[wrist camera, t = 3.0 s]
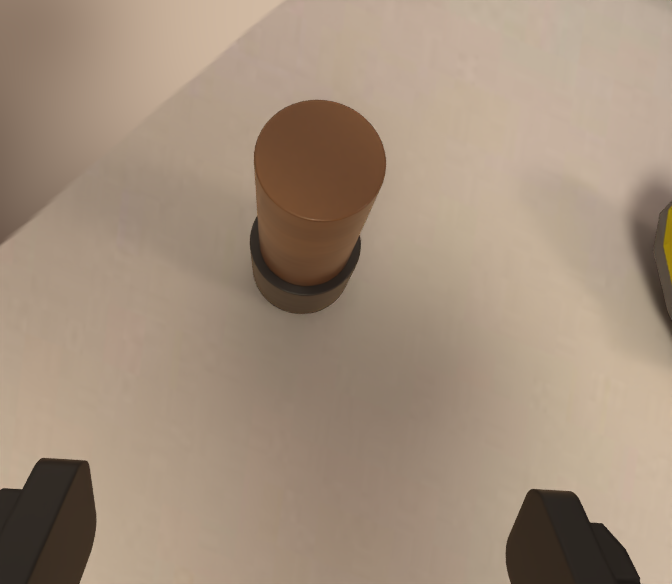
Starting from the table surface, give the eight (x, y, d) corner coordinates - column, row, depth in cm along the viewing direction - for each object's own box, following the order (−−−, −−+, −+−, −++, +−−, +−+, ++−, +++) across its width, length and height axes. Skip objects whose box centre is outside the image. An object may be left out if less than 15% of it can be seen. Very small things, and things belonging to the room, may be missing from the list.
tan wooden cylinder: (296, 334, 29) (313, 266, 17) (232, 260, 29) (206, 147, 18) (368, 272, 30) (431, 170, 18) (306, 203, 30) (328, 59, 19)
